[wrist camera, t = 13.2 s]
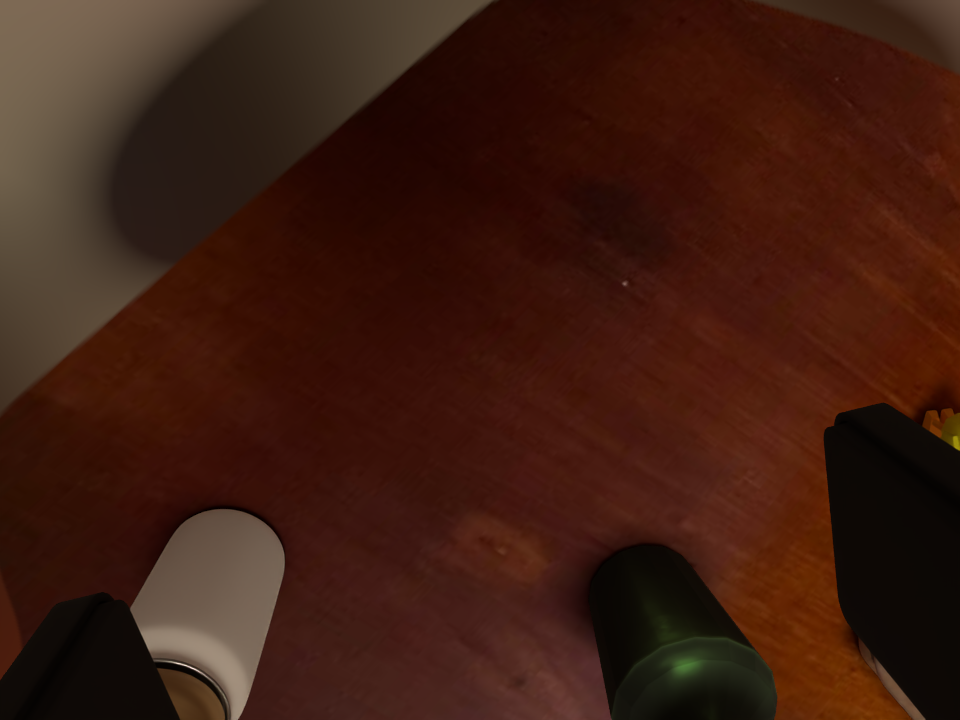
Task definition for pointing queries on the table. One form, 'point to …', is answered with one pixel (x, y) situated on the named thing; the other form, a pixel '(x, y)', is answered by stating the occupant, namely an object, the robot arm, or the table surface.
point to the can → (213, 602)
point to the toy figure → (944, 426)
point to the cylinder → (191, 696)
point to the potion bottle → (673, 644)
